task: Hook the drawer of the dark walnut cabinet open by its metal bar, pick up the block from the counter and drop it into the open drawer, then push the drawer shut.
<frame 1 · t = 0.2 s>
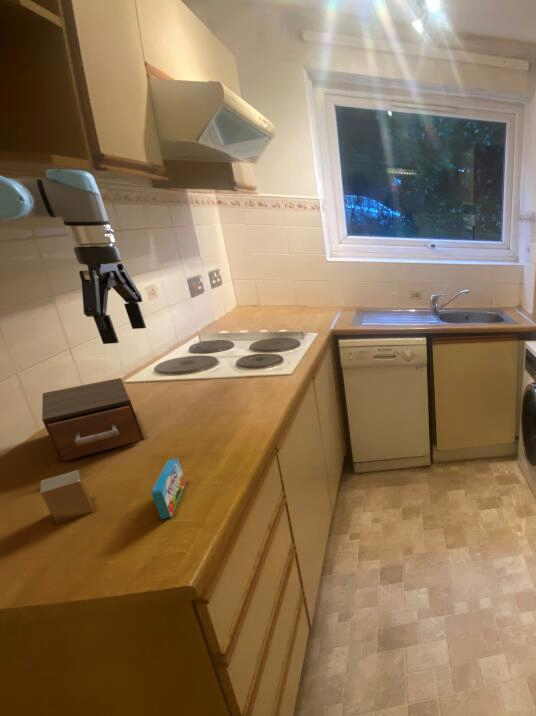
hand: (126, 335, 107), 24 cm above the countertop, tool pointing down, fingers open, 13 cm apart
cabinet: (101, 435, 108), on the countertop
block: (74, 511, 82), on the countertop
drawer: (95, 424, 103), point 5 cm above the countertop, slide at 1.0 cm
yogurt: (174, 501, 85), on the countertop
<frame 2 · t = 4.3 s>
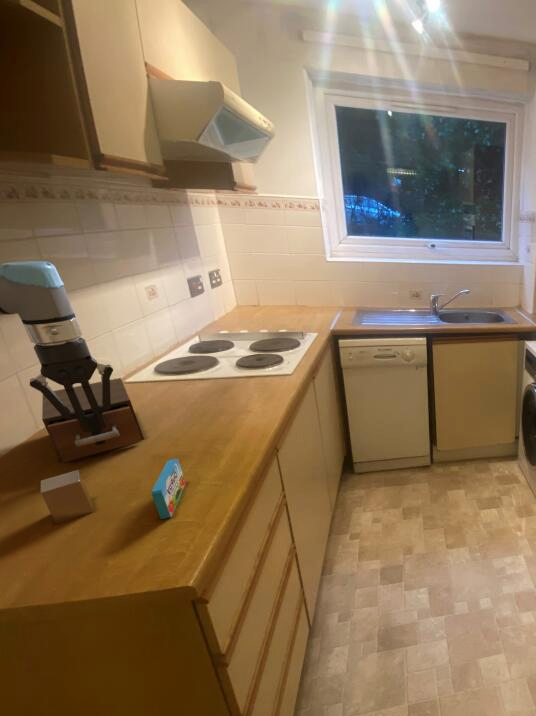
hand: (100, 442, 97), 5 cm above the countertop, tool pointing down, fingers closed
drawer: (95, 424, 102), point 5 cm above the countertop, slide at 1.7 cm
everything else where it was.
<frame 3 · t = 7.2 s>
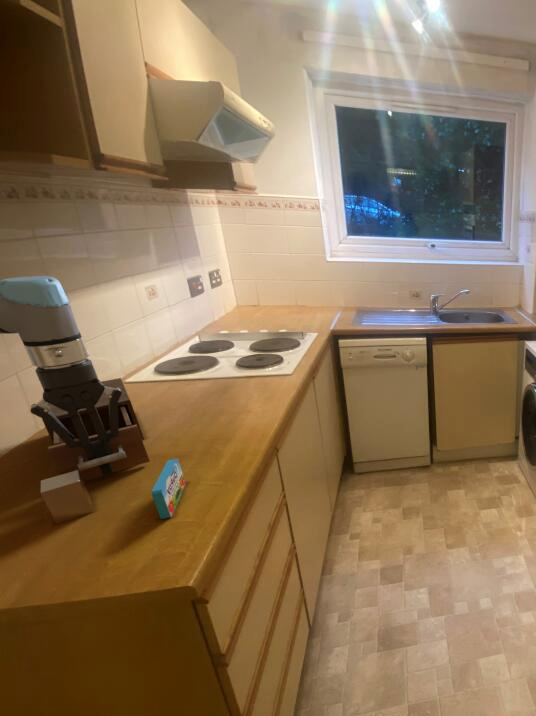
hand: (107, 470, 89), 3 cm above the countertop, tool pointing down, fingers closed
drawer: (99, 444, 94), point 5 cm above the countertop, slide at 14.2 cm
everything else where it was.
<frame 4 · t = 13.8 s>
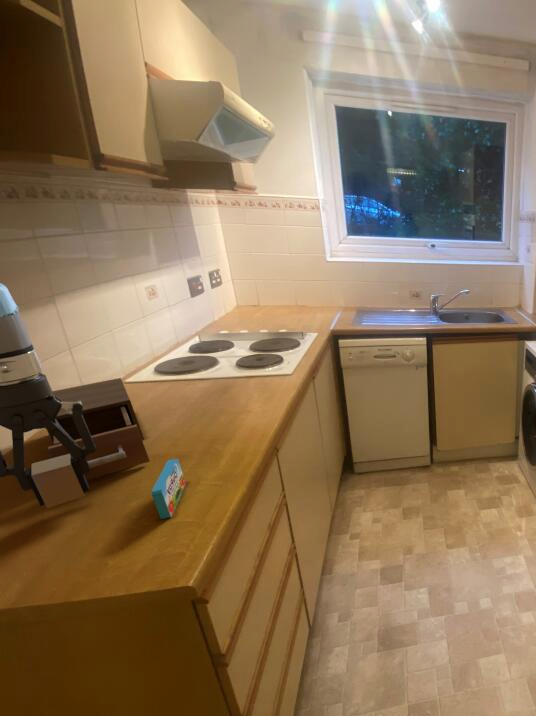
hand: (65, 494, 80), 4 cm above the countertop, tool pointing down, fingers closed on block, 5 cm apart
block: (65, 496, 80), point 4 cm above the countertop, touching gripper
everything else where it was.
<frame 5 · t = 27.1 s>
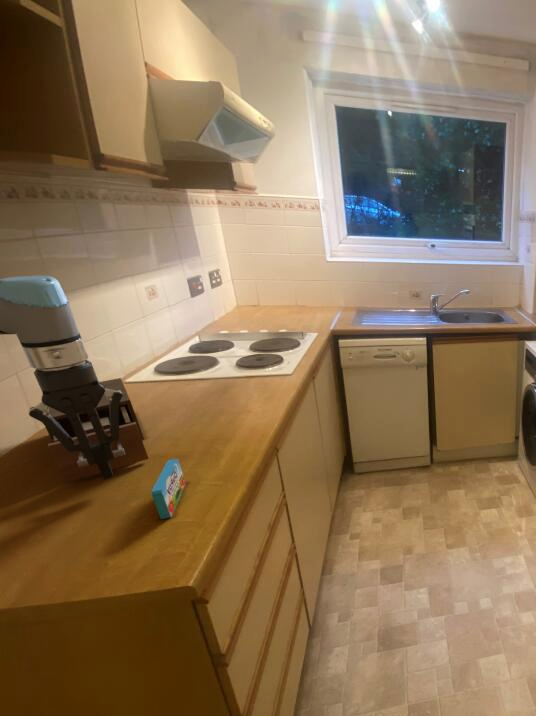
hand: (107, 474, 87), 3 cm above the countertop, tool pointing down, fingers closed
block: (104, 451, 97), point 2 cm above the countertop, touching drawer
drawer: (99, 441, 95), point 5 cm above the countertop, slide at 12.6 cm, touching gripper, block
everything else where it was.
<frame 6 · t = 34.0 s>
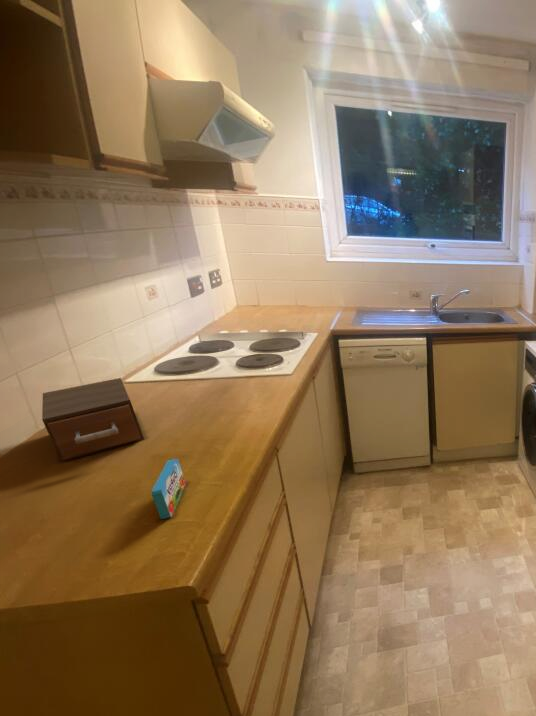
block: (100, 432, 106), point 2 cm above the countertop, touching drawer
drawer: (95, 422, 103), point 5 cm above the countertop, slide at 0.0 cm, touching cabinet, block
everything else where it was.
at the end: drawer pulled out 14.2 cm at the most during the clip, back to where it started at the end; block inside the target area in the cabinet (3.0 cm from its centre), point 2.1 cm above the cabinet's base; drawer slide at 0.0 cm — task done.
